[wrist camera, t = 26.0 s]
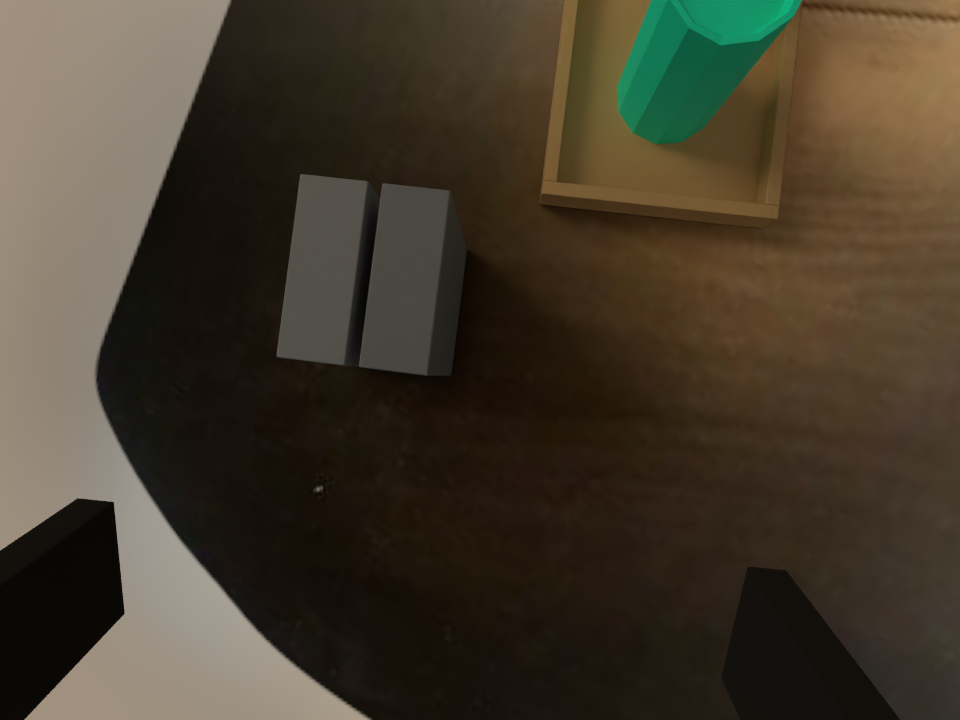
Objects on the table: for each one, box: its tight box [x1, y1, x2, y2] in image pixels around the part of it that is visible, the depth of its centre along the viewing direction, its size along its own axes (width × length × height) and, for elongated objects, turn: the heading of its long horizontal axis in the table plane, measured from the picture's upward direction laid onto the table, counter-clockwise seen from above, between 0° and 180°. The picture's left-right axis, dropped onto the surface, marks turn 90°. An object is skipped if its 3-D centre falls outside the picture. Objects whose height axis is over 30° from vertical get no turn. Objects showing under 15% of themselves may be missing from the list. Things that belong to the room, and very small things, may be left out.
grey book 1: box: [277, 174, 380, 366], centre depth 30 cm, size 8×3×11 cm, turn 173°
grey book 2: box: [359, 183, 467, 376], centre depth 30 cm, size 8×3×11 cm, turn 173°
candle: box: [617, 0, 802, 144], centre depth 28 cm, size 6×6×12 cm
